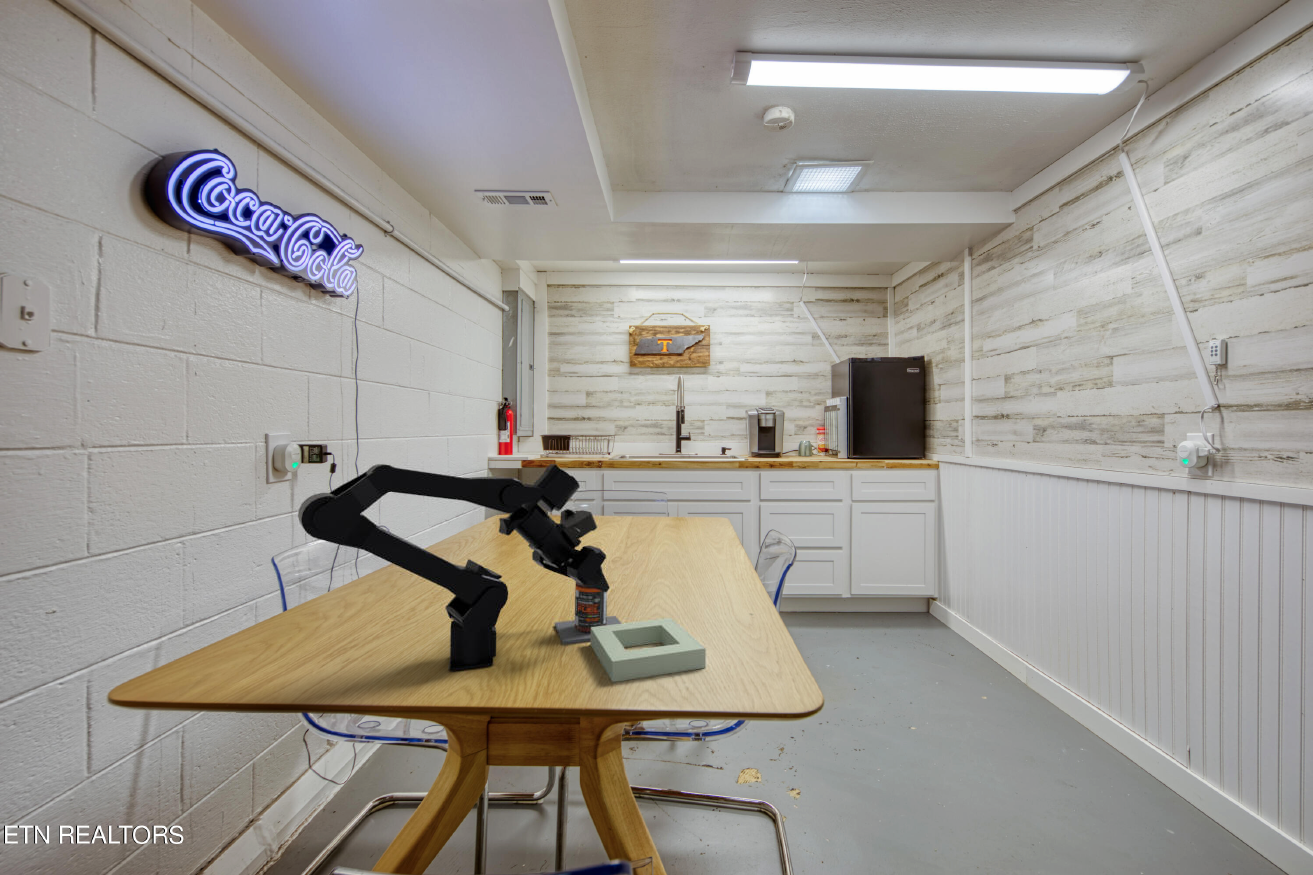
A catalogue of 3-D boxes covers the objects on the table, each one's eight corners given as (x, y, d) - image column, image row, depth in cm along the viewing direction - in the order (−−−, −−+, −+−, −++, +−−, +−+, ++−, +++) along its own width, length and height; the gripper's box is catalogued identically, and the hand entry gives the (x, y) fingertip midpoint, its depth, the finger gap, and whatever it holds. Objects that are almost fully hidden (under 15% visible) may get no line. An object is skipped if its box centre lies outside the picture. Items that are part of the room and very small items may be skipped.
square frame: (612, 682, 75) (612, 661, 75) (590, 644, 89) (590, 627, 89) (705, 667, 80) (705, 648, 80) (670, 634, 94) (670, 617, 94)
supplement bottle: (573, 634, 92) (574, 571, 92) (575, 622, 98) (575, 563, 98) (606, 633, 92) (607, 570, 93) (606, 622, 98) (607, 563, 99)
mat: (563, 644, 89) (563, 641, 89) (554, 625, 98) (554, 622, 98) (629, 636, 93) (629, 632, 93) (615, 618, 102) (615, 615, 102)
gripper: (596, 501, 86) (648, 559, 92) (547, 493, 100) (595, 543, 107) (553, 554, 81) (611, 611, 87) (508, 537, 95) (561, 587, 102)
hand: (594, 584), depth 96 cm, fingers open, 9 cm apart
